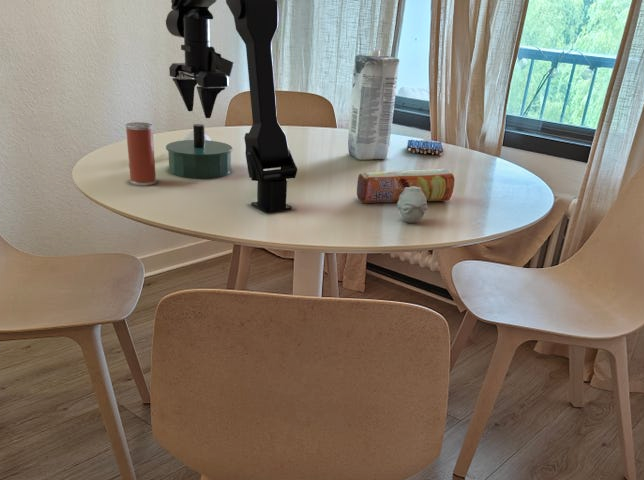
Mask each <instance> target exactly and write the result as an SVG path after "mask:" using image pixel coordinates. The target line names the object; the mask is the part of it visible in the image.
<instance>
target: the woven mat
mask: <svg viewBox="0 0 644 480" xmlns="http://www.w3.org/2000/svg"><path fill="white" fill-rule="evenodd" d="M406 150H407V151H408V152H411V151H412V153H413V154H415V153H417V154H418V153H419V152H420V154H424V155H426V154H427V153H428V154H431V155H432V156H433V155H434V154H435V155H439V156H442V155H443V153H444V148H443V144H442V142H441V141H440V142H439V141H431V140H419V139H416V140H415V139H408V140H407V145H406Z"/></svg>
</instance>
